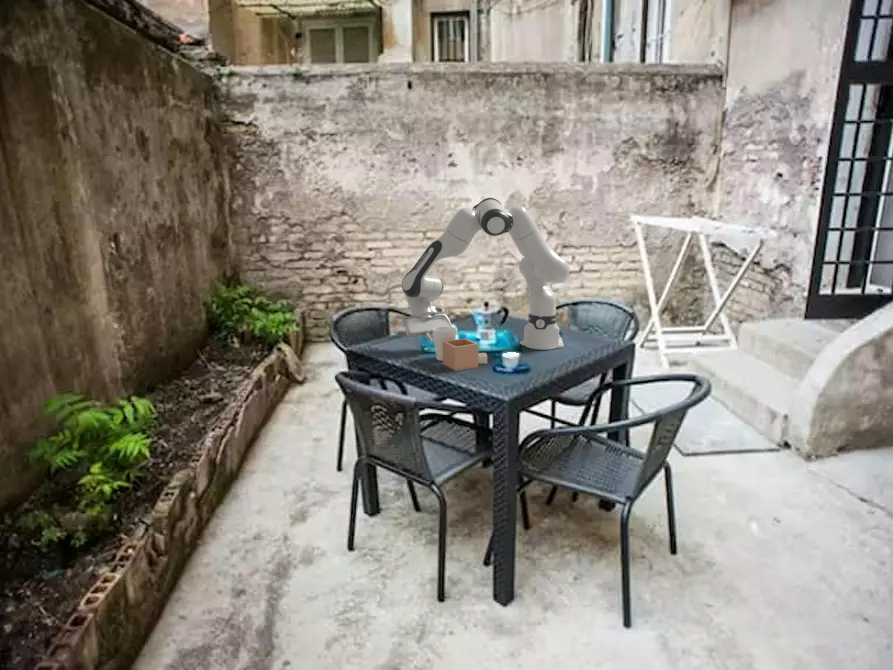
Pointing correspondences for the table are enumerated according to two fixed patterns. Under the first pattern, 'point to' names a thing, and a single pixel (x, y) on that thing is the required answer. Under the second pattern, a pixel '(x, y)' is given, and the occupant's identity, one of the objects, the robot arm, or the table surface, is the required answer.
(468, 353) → the planter
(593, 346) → the table surface
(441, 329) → the foam cup
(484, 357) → the limestone block
